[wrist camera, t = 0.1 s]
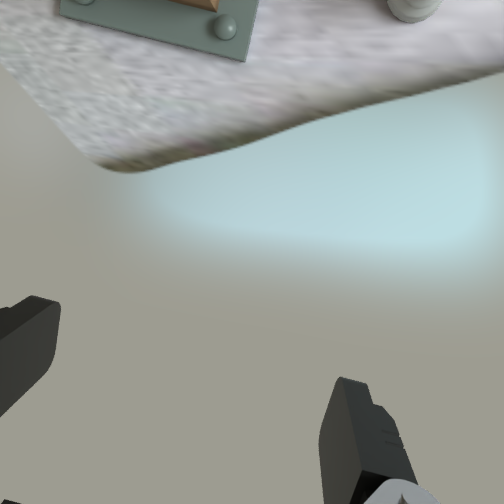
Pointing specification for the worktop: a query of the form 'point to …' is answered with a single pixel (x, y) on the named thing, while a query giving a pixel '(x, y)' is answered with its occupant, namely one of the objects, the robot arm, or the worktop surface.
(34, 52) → the worktop surface
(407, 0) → the rook chess piece
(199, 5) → the stepped wooden plinth
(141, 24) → the baseplate
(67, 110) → the worktop surface
